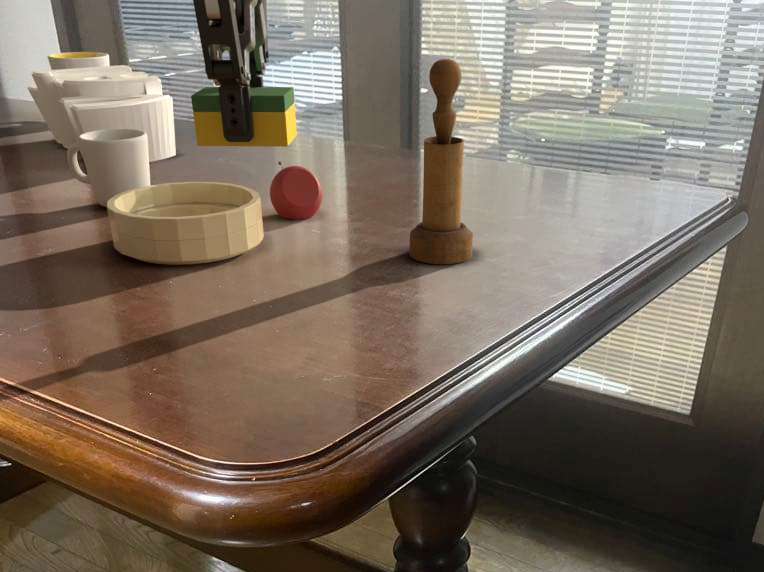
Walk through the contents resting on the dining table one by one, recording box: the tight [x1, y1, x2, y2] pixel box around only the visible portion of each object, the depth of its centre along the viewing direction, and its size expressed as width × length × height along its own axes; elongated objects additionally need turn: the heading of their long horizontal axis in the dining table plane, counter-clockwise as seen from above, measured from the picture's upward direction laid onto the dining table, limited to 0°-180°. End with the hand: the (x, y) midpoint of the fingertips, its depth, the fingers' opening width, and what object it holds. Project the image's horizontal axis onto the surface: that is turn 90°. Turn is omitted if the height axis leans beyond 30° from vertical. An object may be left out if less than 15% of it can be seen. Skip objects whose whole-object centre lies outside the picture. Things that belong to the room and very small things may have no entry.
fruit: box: [269, 161, 323, 220], centre depth 103 cm, size 6×6×8 cm
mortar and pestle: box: [409, 58, 474, 265], centre depth 86 cm, size 7×6×18 cm
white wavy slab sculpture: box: [27, 64, 177, 163], centre depth 133 cm, size 35×16×11 cm, turn 28°
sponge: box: [190, 86, 298, 148], centre depth 68 cm, size 7×4×4 cm, turn 87°
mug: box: [46, 51, 111, 70], centre depth 156 cm, size 14×10×10 cm
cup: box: [66, 129, 151, 208], centre depth 106 cm, size 11×8×8 cm
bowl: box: [106, 181, 265, 266], centre depth 93 cm, size 16×16×5 cm
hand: (246, 133), depth 68 cm, fingers closed on sponge, 4 cm apart
